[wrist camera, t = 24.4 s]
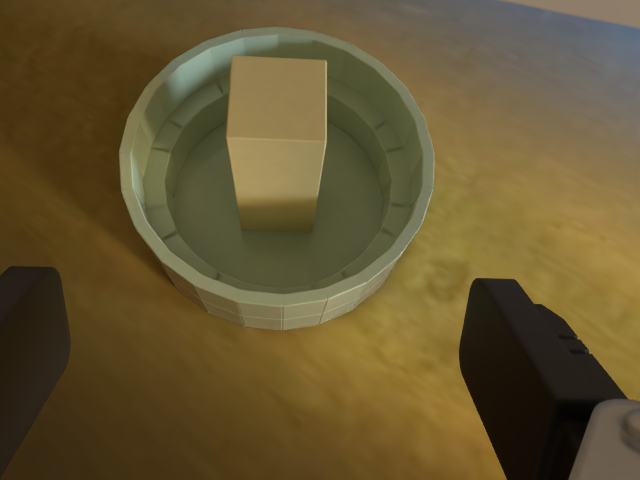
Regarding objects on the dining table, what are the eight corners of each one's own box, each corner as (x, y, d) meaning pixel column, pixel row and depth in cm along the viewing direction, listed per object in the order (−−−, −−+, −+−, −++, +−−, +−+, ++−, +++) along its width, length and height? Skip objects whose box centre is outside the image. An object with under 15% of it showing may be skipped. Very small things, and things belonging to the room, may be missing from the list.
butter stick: (312, 169, 33) (326, 59, 23) (312, 232, 31) (326, 142, 22) (244, 167, 33) (231, 54, 23) (241, 230, 31) (225, 137, 22)
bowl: (378, 82, 36) (397, 15, 30) (434, 308, 31) (468, 278, 25) (139, 107, 34) (111, 40, 28) (156, 352, 29) (128, 330, 23)
